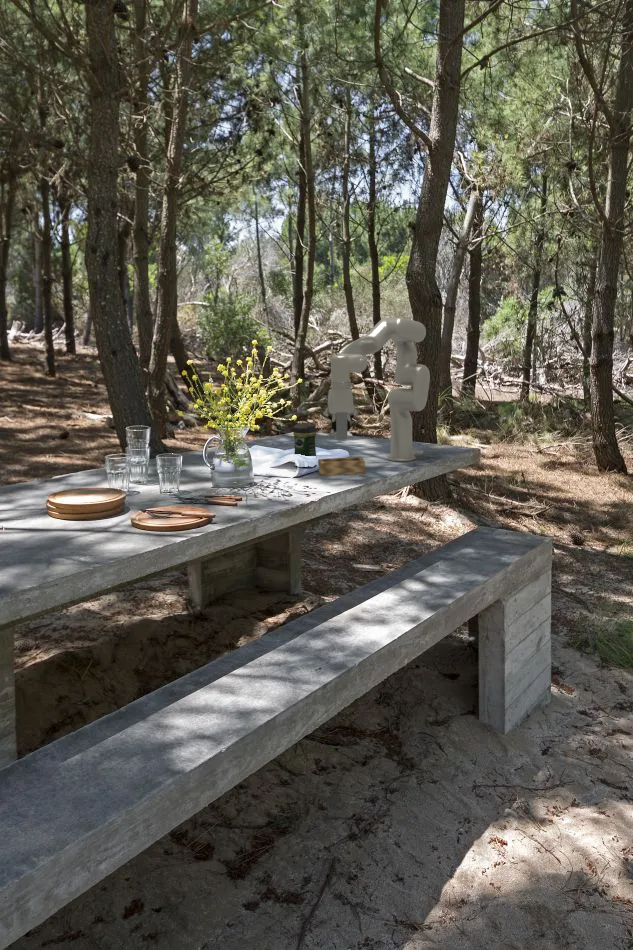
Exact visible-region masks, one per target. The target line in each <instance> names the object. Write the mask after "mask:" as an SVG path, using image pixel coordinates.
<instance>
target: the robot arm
mask: <svg viewBox="0 0 633 950" xmlns="http://www.w3.org/2000/svg"><path fill="white" fill-rule="evenodd" d="M426 335H427V328H426V327H425V325H424V324H423V323H422V322H420V321H416V320H412V319H408V318H405V317H384V318H382V319H380V320H379V321H378V322H377V323H376V324H375V325H374V326H373V327H372V328H371V329H370V330H369V331H368V332H367V333H366V334H365V335H364V336H362V337H360V338H358V339H356V340H354V341H352V342H350V343H348V344H347V345H345V346H344V347H343V348H342V349H341V350H340V351H339V352H338V353H337V354H336V355H332V356H331V357H330V386H331V387H330V389H328V397H327V407H326V409H325V410H324V411H323V413H322V414H323V416H325V417H327V418H328V419H329V420H330V421H331V429H332V431H333V432H334V433H335V432H336V422H335V417H336V413H343V412H347V432H349V430H350V429H351V421H352V420H353V419H354V418H355V416H357V415H359V411H358V410H357V409H356V407H355V406H354V397H353V391H352V389H351V387H354V382H351V381H350V378H351V377H350V376H351V375H350V374H352V373H354V374H359V373H362V372H364V371H365V370H366V369H367V367H368V360H367V358H366V357H365V356H368V355H372V354H375V353H377V352H379V351H380V350H381V349H382V348H383V347H384V346H385V345H386V344H387V343H388V342H389V340H392V341H393V343H394V345H395V347H396V350H397V358H396V359H397V360H396V365H395V373H394V378H395V379H394V380H395V382H396V384H398V385H400V386H407V387H408V386H409V387H412V388H407V387H406V388H404V387H399V388H394V389H392V390H391V391H390V392H389V394H388V398H387V399H388V400H387V401H388V407H389V413H390V455H388V456H386V459H387V460H388V461H392V462H409V461H410V462H411V461H415V460H416V458H417V457H416V456H418V455H419V456H422V455H423V454H424V453H423V450H422V449H421V450H419V449H417V450H415V449H413V417H412V415H411V412H421V411H422V410H424V409H425V407H426V405H427V402H428V396H429V388H430V381H431V373H430V369H429V368H428V366H426V365H425V364H420V363H417V361H418V360H417V358H418V352H417V348H416V346H415V345H414V343H421V342H422V341H424V339H425V338H426ZM330 414H331V415H330Z"/></svg>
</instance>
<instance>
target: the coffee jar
mask: <svg viewBox="0 0 633 950" xmlns="http://www.w3.org/2000/svg"><path fill="white" fill-rule="evenodd" d="M292 433H293V438H294V454H301V455H305V456H316V457H317V450H316V449H317V448H316V435H317V429H316V425H315V424H311V423H297V424H294V425H293V432H292Z"/></svg>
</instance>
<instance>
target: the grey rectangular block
mask: <svg viewBox="0 0 633 950" xmlns="http://www.w3.org/2000/svg"><path fill="white" fill-rule="evenodd" d="M335 422H336V432H334V439H335V440H337V441H338V440H339V441H342V440H343V441H344V440H348V431H347V412H343V413H336V417H335Z"/></svg>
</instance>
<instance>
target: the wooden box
mask: <svg viewBox="0 0 633 950" xmlns="http://www.w3.org/2000/svg"><path fill="white" fill-rule="evenodd" d="M317 466H319V470H318V469H317V470H318V471H319V472H318V473H319V475H320V476H322V477H323V476H326V477H327V476H341V475H340V474H350V475H359V474H358V473H365V474H366V460H365V459H364V458H362V457H361V456H354V457H353V456H352V457H332V458H331V457H330V458H318V459H317Z"/></svg>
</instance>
